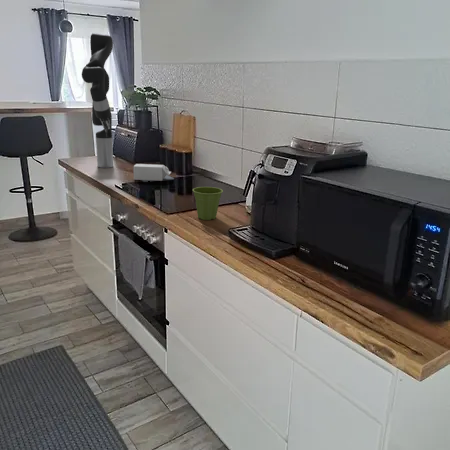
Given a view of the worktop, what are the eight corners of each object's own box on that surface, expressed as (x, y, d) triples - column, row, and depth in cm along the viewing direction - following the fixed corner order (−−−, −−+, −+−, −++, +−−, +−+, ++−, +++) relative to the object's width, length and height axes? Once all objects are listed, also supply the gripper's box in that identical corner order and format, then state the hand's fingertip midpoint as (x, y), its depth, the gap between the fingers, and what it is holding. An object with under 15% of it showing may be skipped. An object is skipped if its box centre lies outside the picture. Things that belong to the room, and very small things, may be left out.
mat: (134, 176, 242) (134, 175, 242) (164, 174, 250) (164, 173, 250) (143, 182, 230) (143, 180, 229) (174, 179, 238) (174, 178, 237)
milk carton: (136, 176, 238) (171, 178, 238) (133, 179, 231) (169, 181, 231) (136, 163, 236) (171, 165, 235) (132, 166, 229) (169, 167, 229)
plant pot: (225, 221, 171) (226, 193, 167) (195, 223, 168) (196, 194, 164) (217, 212, 182) (218, 185, 178) (189, 214, 178) (189, 186, 175)
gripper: (112, 110, 216) (119, 140, 228) (105, 99, 225) (112, 129, 237) (97, 114, 214) (105, 145, 226) (90, 103, 223) (98, 133, 235)
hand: (109, 136), depth 231 cm, fingers closed
